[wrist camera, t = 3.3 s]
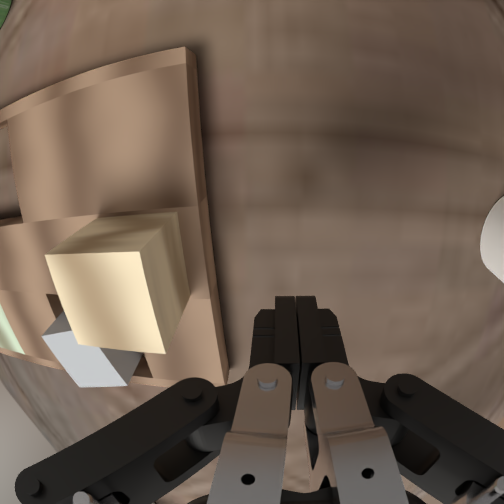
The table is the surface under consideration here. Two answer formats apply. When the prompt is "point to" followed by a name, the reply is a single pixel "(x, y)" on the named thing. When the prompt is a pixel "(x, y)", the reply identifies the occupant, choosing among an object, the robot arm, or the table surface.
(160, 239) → the maple cube
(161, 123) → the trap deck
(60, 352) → the trapped grey cube
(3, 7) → the ramekin
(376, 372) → the table surface
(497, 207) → the cylindrical container
